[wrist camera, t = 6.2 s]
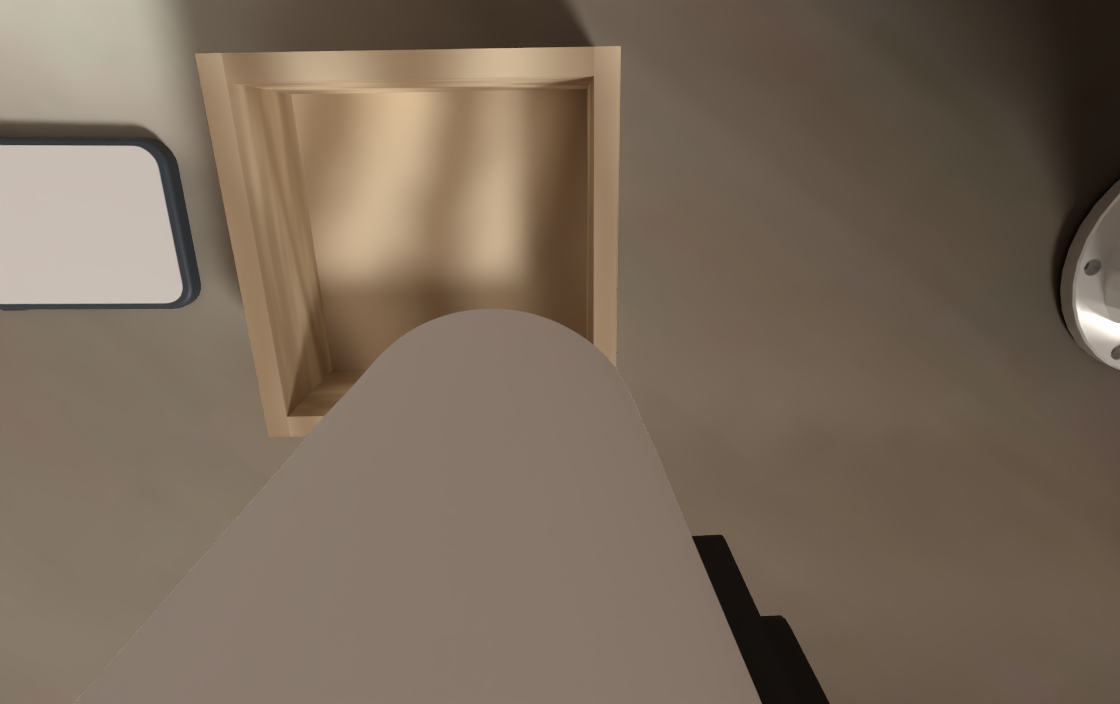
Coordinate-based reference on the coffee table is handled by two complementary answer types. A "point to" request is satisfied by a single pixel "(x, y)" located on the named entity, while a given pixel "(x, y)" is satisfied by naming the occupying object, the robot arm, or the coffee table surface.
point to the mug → (452, 548)
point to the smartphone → (93, 225)
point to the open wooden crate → (410, 200)
